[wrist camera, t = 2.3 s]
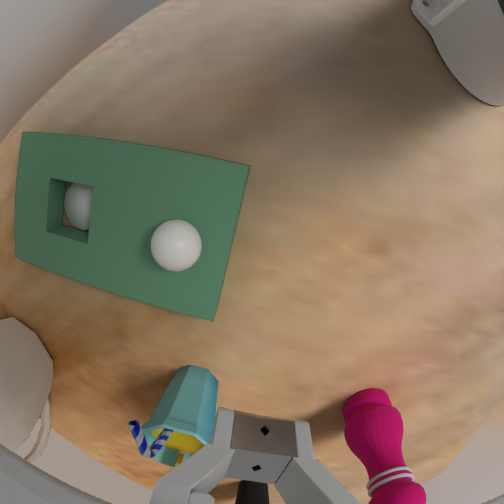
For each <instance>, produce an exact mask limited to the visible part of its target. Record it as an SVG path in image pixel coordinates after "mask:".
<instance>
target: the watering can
mask: <svg viewBox="0 0 504 504" xmlns="http://www.w3.org/2000/svg"><path fill="white" fill-rule="evenodd" d="M52 383H53V360H52V359H51V357H50V356H49V354H48V352H47V351H46V349H45V347H44V346H43V344H42V343H41V341H40V339H39V338H38V336H37V334H36V333H35V332H33V331H32V330H30V329H29V328H28V327H26V326H25V325H24V324H22V323H21V322H20V321H18V320H17V319H15V318H14V317H10V318H6V319H2V320H1V319H0V443H1V444H2V445H4V446H5V447H6V448H8V449H9V450H11V451H12V452H14V451H15V450H16V449H17V448H18V447H19V446H20V445H21V444H22V443H23V442H24V441H25V440H26V439H27V438H28V437H29V436H30V434H31V432H32V430H33V428H34V426H35V424H36V422H37V420H38V418H39V416H40V414H41V428H40V431H39V434H38V438H37V441H36V443H35V445H34V447H33V449H32V450H31V452H30V453H29V454H28V455H27V456H26V457H25V458H24V460H26V461H28V462H29V463H31V464H32V463H33V462H34V461H35V460H36V459H37V458H38V457H39V456H40V455H41V454H42V452H43V450H44V448H45V446H46V445H47V442H48V438H49V433H50V429H51V411H50V402H49V399H48V396H49V393H50V390H51V387H52Z"/></svg>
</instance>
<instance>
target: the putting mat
mask: <svg viewBox="0 0 504 504" xmlns="http://www.w3.org/2000/svg"><path fill="white" fill-rule="evenodd" d="M250 167H251V166H249V165H245V164H241V163H236V162H232V161H227V160H223V159H218V158H213V157H209V156H204V155H199V154H194V153H189V152H183V151H178V150H173V149H167V148H161V147H156V146H150V145H143V144H137V143H130V142H124V141H117V140H109V139H102V138H94V137H85V136H76V135H66V134H56V133H43V132H23V133H22V139H21V145H20V153H19V161H18V170H17V181H16V196H15V258H18V259H20V260H22V261H25V262H27V263H30V264H33V265H35V266H38V267H40V268H43V269H46V270H48V271H51V272H54V273H56V274H59V275H62V276H64V277H67V278H70V279H73V280H76V281H78V282H81V283H84V284H87V285H90V286H93V287H96V288H99V289H102V290H105V291H108V292H111V293H114V294H117V295H121V296H124V297H127V298H130V299H133V300H137V301H140V302H143V303H147V304H150V305H153V306H157V307H160V308H164V309H167V310H171V311H175V312H178V313H182V314H186V315H189V316H193V317H197V318H201V319H205V320H208V321H212V322H213V321H214V318H215V314H216V311H217V308H218V304H219V300H220V295H221V291H222V286H223V282H224V277H225V273H226V269H227V264H228V260H229V255H230V251H231V247H232V242H233V238H234V234H235V230H236V225H237V221H238V217H239V213H240V208H241V204H242V200H243V196H244V192H245V188H246V183H247V179H248V175H249V171H250ZM66 181H69V182H74V183H73V184H72V185H71V186H70V187H69V188H68V190H67V192H66V195H65V187H66ZM64 197H65V199H64ZM63 209H65V213H66V216H67V218H68V220H69V221H70V222H71V224H72V225H73V226H75V227H76V228H78V229H81V230H78V229H75V228H71V227H68V226H64V225H62V224H63ZM169 220H183V221H186V222H188V223H190V224H191V225H192V226H194V227H195V229H196V230H197V231H198V233H199V235H200V238H201V242H202V248H201V253H200V256H199V258H198V260H197V261H196V262H195V263H194V264H193V265H192V266H191V267H189V268H188V269H186V270H183V271H170V270H167V269H165V268H163V267H161V266H160V265H159V264H158V263H157V262H156V261H155V259H154V257H153V255H152V252H151V239H152V236H153V234H154V232H155V230H156V229H157V228H158V227H159V226H160V225H161V224H163V223H164V222H167V221H169ZM82 230H89V232H86V231H82Z"/></svg>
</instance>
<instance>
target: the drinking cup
mask: <svg viewBox="0 0 504 504" xmlns="http://www.w3.org/2000/svg"><path fill="white" fill-rule="evenodd" d="M235 504H269V495H268V485H267V483H262V482H255V481H250V480H249V481H248V480H244V481H241V482H240V484H239V488H238V493H237V498H236V502H235Z"/></svg>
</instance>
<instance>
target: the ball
mask: <svg viewBox="0 0 504 504" xmlns="http://www.w3.org/2000/svg"><path fill="white" fill-rule="evenodd" d="M201 248H202V242H201V238H200V235H199V233H198V231H197V230H196V229H195V227H194V226H192V225H191V224H190V223H188V222H186V221H183V220H169V221H167V222H164V223H163V224H161V225H160V226H159V227H158V228H157V229H156V230H155V232H154V234H153V236H152V239H151V252H152V255H153V257H154V259H155V261H156V262H157V263H158V264H159V265H160V266H161V267H163V268H165V269H167V270H170V271H183V270H186V269H188V268H189V267H191V266H192V265H193V264H194V263H195V262H196V261H197V260H198V258H199V256H200V253H201Z"/></svg>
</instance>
